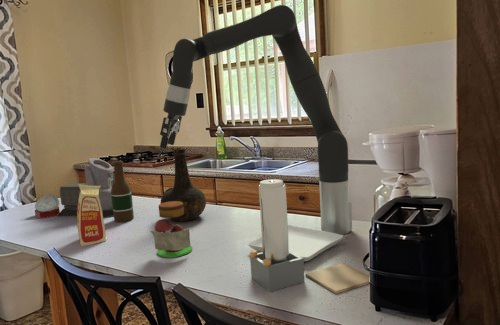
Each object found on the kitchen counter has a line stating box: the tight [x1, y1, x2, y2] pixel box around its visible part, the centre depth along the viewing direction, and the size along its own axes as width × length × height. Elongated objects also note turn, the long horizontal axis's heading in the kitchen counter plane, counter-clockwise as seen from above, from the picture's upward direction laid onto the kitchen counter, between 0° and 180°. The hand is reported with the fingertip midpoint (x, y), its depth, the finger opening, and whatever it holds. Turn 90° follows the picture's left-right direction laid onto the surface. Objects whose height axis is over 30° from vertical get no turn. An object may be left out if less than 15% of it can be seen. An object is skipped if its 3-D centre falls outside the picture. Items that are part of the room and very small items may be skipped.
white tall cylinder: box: [258, 178, 289, 265], centre depth 103 cm, size 6×6×25 cm
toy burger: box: [149, 201, 193, 258], centre depth 129 cm, size 12×13×15 cm
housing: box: [249, 249, 305, 293], centre depth 104 cm, size 10×10×7 cm
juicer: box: [57, 157, 115, 219], centre depth 184 cm, size 30×16×24 cm, turn 75°
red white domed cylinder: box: [34, 194, 61, 219], centre depth 187 cm, size 11×10×10 cm
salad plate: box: [247, 224, 345, 262], centre depth 126 cm, size 21×21×3 cm
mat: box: [305, 262, 370, 295], centre depth 103 cm, size 12×12×1 cm
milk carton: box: [76, 185, 107, 247], centre depth 145 cm, size 9×9×20 cm
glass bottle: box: [160, 147, 207, 222], centre depth 165 cm, size 18×18×28 cm
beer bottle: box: [111, 160, 135, 223], centre depth 169 cm, size 8×8×24 cm
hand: (167, 146), depth 145 cm, fingers open, 8 cm apart
